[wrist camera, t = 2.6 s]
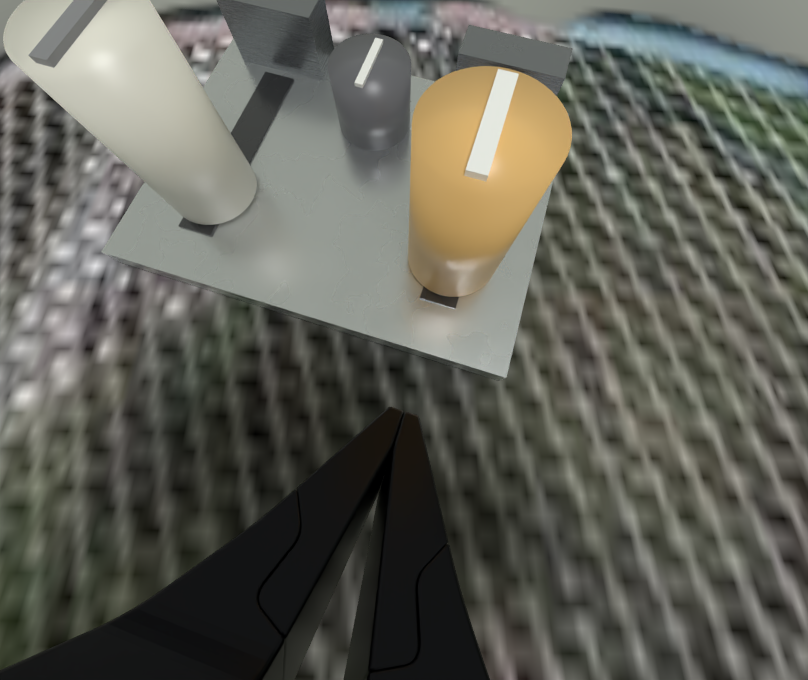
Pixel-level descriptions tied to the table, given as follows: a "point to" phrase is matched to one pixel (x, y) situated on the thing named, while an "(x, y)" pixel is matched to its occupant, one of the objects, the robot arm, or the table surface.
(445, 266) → the orange knob
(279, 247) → the console plate
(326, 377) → the table surface
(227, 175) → the cream knob
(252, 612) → the robot arm
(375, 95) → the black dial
